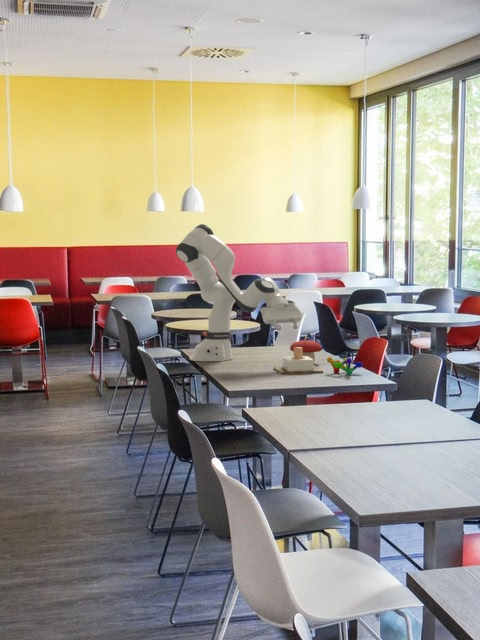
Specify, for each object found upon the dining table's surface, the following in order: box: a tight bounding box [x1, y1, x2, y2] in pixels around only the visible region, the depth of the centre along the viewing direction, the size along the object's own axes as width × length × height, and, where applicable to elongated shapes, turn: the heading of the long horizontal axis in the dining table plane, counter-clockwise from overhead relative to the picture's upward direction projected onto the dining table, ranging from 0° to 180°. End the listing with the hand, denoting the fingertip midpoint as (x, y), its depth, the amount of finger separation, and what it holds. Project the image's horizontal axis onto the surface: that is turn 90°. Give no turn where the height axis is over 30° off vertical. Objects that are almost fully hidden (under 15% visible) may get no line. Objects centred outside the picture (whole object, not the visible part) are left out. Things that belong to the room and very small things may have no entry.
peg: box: [293, 347, 302, 359], centre depth 398 cm, size 4×4×10 cm
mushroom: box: [289, 332, 323, 362], centre depth 421 cm, size 16×16×15 cm
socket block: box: [282, 356, 315, 371], centre depth 399 cm, size 12×12×5 cm
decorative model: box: [326, 356, 363, 376], centre depth 389 cm, size 13×9×15 cm
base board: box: [273, 365, 324, 375], centre depth 399 cm, size 20×16×1 cm
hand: (287, 328), depth 405 cm, fingers open, 8 cm apart
